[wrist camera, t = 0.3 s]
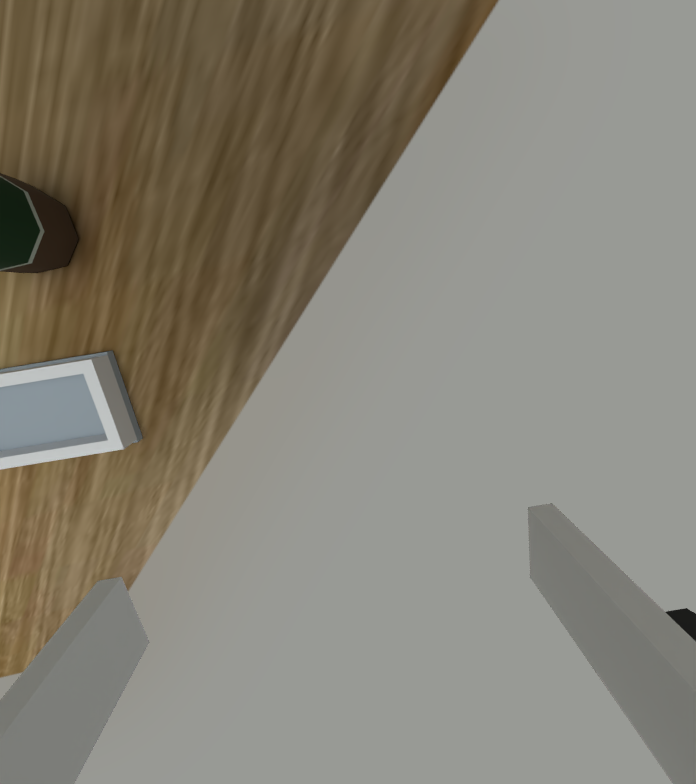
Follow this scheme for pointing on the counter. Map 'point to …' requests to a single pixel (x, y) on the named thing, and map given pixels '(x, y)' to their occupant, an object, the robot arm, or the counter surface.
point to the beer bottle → (32, 229)
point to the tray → (64, 410)
